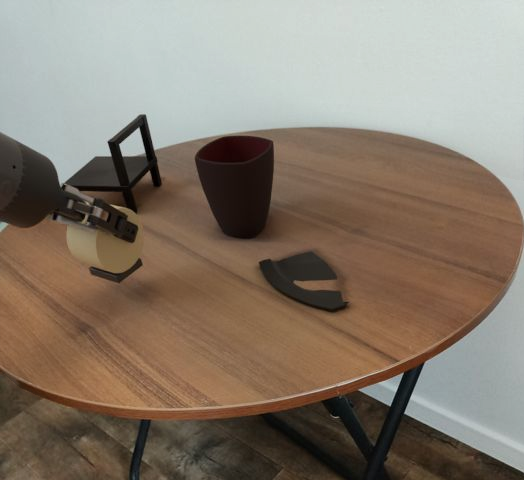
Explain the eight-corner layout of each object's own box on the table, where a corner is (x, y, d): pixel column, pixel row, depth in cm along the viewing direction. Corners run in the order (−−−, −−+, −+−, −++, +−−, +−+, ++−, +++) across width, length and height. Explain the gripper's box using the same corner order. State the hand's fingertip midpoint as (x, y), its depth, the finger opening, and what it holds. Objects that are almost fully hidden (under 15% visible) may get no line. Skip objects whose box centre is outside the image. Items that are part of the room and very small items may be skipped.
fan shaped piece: (297, 331, 59) (296, 319, 58) (256, 272, 69) (255, 262, 68) (363, 309, 61) (363, 298, 60) (314, 255, 71) (313, 245, 70)
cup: (199, 239, 77) (183, 159, 69) (244, 198, 86) (235, 123, 78) (258, 250, 73) (248, 167, 65) (299, 206, 82) (294, 128, 74)
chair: (71, 213, 88) (44, 142, 80) (103, 182, 97) (82, 115, 89) (135, 215, 85) (114, 141, 77) (163, 183, 94) (146, 114, 86)
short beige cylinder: (81, 281, 63) (57, 218, 58) (123, 251, 68) (105, 190, 62) (109, 290, 61) (87, 226, 56) (151, 258, 66) (134, 196, 60)
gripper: (56, 142, 44) (172, 210, 60) (-45, 126, 50) (84, 191, 66) (31, 227, 45) (153, 273, 60) (-66, 200, 51) (68, 248, 66)
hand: (117, 230), depth 63 cm, fingers closed on short beige cylinder, 4 cm apart
